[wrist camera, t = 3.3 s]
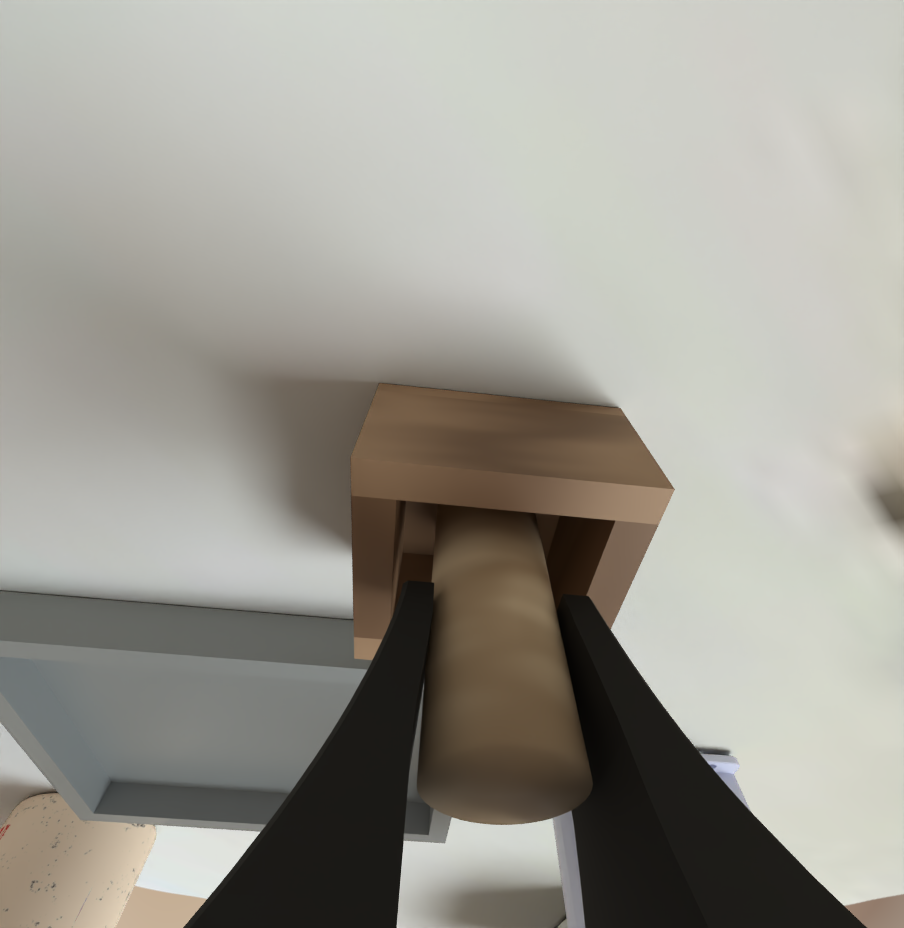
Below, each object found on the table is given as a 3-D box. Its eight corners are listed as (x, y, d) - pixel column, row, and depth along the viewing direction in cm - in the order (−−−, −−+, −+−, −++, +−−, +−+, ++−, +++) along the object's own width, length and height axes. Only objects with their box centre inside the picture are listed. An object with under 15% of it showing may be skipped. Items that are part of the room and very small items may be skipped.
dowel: (540, 468, 14) (615, 752, 7) (522, 542, 15) (568, 829, 9) (442, 458, 14) (423, 738, 7) (433, 533, 15) (411, 819, 9)
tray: (483, 631, 19) (486, 678, 17) (446, 799, 27) (444, 843, 26) (-19, 589, 18) (-71, 635, 16) (105, 777, 27) (80, 820, 25)
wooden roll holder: (620, 408, 13) (674, 489, 10) (563, 577, 17) (588, 677, 14) (379, 383, 13) (350, 457, 10) (375, 560, 17) (354, 658, 13)
